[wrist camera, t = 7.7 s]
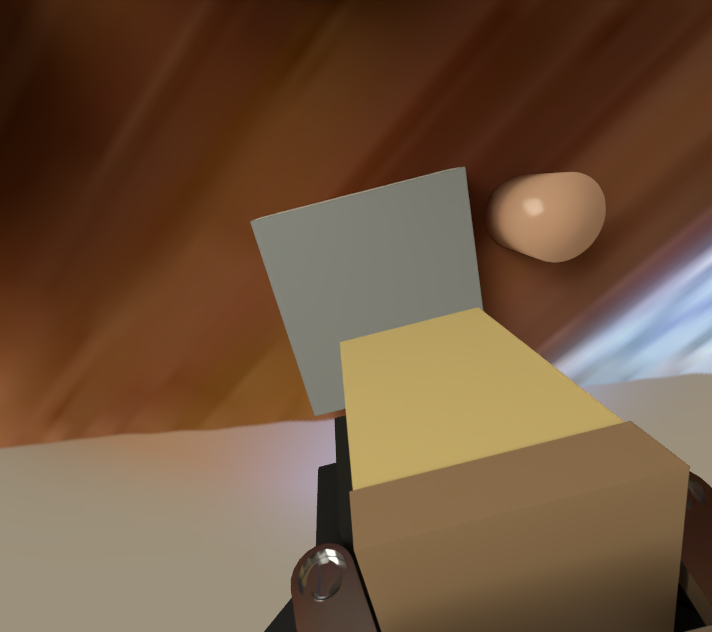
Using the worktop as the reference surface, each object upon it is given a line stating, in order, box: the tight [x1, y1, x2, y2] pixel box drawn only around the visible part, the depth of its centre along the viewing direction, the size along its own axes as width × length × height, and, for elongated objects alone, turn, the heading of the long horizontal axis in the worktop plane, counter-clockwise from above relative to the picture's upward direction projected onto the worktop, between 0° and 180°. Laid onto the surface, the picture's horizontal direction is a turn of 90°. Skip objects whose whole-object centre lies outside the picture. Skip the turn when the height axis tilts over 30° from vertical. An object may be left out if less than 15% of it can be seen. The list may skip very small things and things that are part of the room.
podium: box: [250, 167, 483, 416], centre depth 25 cm, size 13×14×3 cm
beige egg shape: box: [485, 172, 606, 262], centre depth 23 cm, size 5×5×5 cm
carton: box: [340, 307, 690, 632], centre depth 9 cm, size 5×7×7 cm
